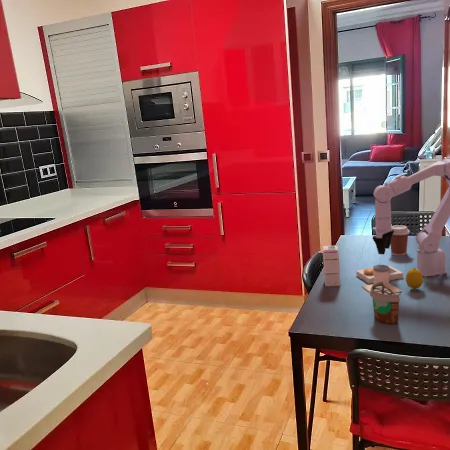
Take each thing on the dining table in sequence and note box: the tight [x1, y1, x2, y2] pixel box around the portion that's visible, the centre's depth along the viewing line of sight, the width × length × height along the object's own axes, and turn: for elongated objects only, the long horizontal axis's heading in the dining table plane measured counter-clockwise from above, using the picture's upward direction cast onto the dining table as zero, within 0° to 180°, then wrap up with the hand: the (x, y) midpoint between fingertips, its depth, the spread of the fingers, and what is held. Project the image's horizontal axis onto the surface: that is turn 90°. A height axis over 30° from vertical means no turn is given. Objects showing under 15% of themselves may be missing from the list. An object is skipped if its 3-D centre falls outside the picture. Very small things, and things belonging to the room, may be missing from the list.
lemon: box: [405, 267, 424, 291], centre depth 157 cm, size 6×6×8 cm
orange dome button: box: [364, 268, 374, 275], centre depth 173 cm, size 4×4×3 cm
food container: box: [369, 282, 401, 326], centre depth 138 cm, size 12×6×10 cm, turn 5°
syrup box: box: [322, 244, 341, 287], centre depth 170 cm, size 6×6×14 cm
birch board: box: [361, 283, 403, 295], centre depth 161 cm, size 10×10×1 cm
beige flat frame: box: [355, 264, 404, 285], centre depth 173 cm, size 14×10×2 cm
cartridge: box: [372, 264, 390, 288], centre depth 160 cm, size 5×5×8 cm
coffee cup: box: [390, 224, 411, 256], centre depth 197 cm, size 9×9×12 cm
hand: (384, 251), depth 174 cm, fingers open, 7 cm apart
